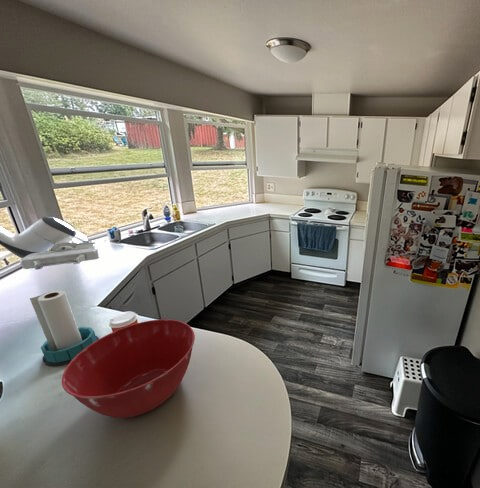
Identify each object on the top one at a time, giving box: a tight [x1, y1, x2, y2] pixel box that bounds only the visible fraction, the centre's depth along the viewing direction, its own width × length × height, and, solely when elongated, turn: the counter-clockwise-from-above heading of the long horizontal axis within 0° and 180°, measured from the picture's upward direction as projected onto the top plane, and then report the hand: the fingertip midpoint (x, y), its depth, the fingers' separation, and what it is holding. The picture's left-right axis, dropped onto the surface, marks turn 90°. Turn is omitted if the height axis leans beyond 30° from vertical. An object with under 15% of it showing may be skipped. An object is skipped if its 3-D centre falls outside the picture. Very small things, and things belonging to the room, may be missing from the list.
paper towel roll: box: [29, 290, 82, 351], centre depth 82 cm, size 7×6×21 cm
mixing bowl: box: [61, 318, 196, 419], centre depth 70 cm, size 28×28×15 cm
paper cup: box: [108, 310, 139, 332], centre depth 85 cm, size 8×8×14 cm
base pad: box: [40, 326, 100, 367], centre depth 86 cm, size 14×14×5 cm
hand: (57, 264), depth 87 cm, fingers open, 8 cm apart
